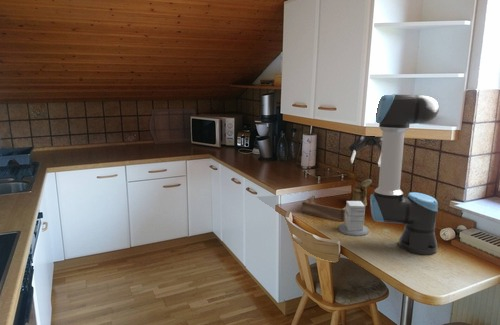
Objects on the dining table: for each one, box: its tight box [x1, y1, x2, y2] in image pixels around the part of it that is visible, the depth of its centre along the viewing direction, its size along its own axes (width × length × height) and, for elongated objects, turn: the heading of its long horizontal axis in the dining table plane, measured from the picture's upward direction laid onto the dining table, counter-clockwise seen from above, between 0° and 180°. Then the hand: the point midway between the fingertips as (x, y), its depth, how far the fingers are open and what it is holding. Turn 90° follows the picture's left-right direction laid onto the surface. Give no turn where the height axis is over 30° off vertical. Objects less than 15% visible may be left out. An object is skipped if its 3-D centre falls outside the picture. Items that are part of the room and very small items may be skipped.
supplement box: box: [344, 200, 366, 231], centre depth 178 cm, size 7×7×13 cm
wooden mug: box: [351, 178, 373, 207], centre depth 212 cm, size 9×14×18 cm, turn 12°
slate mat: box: [338, 222, 370, 237], centre depth 179 cm, size 14×14×1 cm
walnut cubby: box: [301, 195, 346, 223], centre depth 201 cm, size 14×23×6 cm, turn 58°
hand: (364, 163), depth 187 cm, fingers open, 13 cm apart
